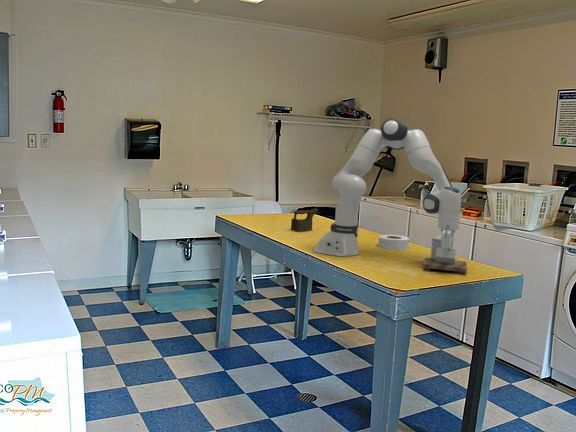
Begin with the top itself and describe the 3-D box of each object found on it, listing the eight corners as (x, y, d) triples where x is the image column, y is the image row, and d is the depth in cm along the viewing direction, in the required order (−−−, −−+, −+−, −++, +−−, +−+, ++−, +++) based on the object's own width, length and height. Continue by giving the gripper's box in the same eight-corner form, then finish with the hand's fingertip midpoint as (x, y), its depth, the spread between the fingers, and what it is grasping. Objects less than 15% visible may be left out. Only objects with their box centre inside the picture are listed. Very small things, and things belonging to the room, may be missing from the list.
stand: (423, 270, 234) (423, 264, 234) (424, 263, 247) (425, 257, 247) (466, 275, 229) (466, 268, 228) (465, 268, 242) (466, 261, 242)
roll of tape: (372, 244, 288) (373, 234, 287) (397, 244, 294) (398, 234, 293) (388, 251, 274) (388, 240, 273) (414, 250, 279) (415, 239, 279)
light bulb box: (439, 256, 265) (441, 235, 263) (452, 259, 261) (454, 237, 259) (429, 259, 257) (431, 237, 255) (443, 262, 252) (445, 239, 251)
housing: (453, 265, 234) (455, 251, 233) (435, 262, 237) (436, 249, 236) (454, 262, 239) (455, 249, 238) (436, 260, 241) (437, 247, 241)
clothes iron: (319, 230, 324) (320, 209, 322) (296, 232, 316) (297, 209, 314) (312, 228, 331) (313, 207, 329) (290, 230, 322) (291, 208, 320)
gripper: (454, 228, 224) (451, 260, 226) (457, 221, 243) (454, 251, 245) (439, 226, 227) (436, 258, 229) (443, 220, 246) (440, 250, 248)
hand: (445, 255), depth 237 cm, fingers open, 8 cm apart
